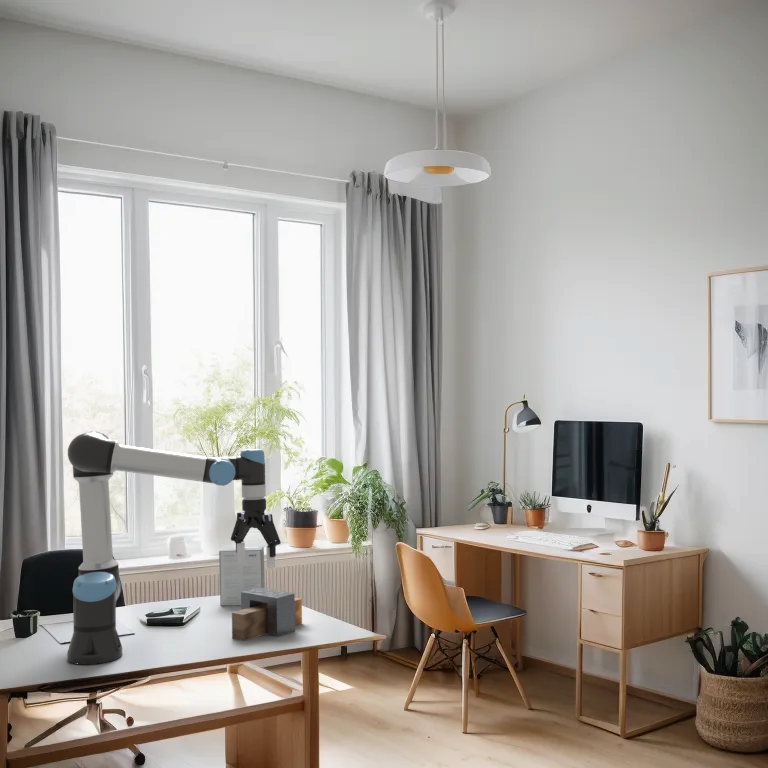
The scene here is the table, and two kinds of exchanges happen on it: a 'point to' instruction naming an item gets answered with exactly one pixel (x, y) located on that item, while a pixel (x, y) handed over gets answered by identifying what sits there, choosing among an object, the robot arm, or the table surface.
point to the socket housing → (273, 608)
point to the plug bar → (257, 621)
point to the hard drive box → (240, 573)
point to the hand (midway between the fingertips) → (255, 565)
